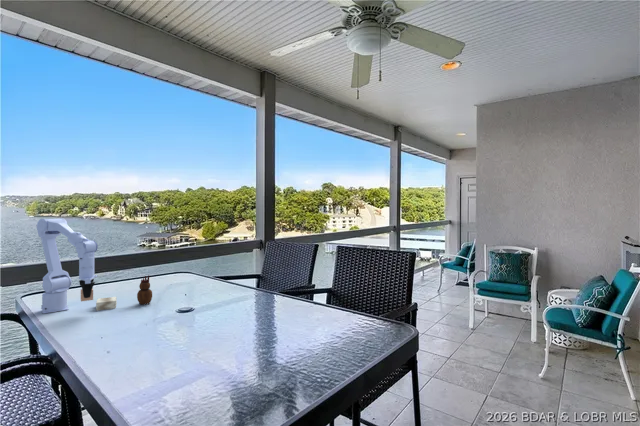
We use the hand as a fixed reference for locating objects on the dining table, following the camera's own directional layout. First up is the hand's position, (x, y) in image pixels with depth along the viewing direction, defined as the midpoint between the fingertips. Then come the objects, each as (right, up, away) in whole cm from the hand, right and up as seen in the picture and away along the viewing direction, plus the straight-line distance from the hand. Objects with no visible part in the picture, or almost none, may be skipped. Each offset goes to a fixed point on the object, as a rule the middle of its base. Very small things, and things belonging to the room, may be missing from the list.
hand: (86, 296), depth 149 cm
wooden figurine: (+17, -9, +17) cm, 26 cm away
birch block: (+2, -9, +11) cm, 14 cm away
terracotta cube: (0, -2, 0) cm, 2 cm away
